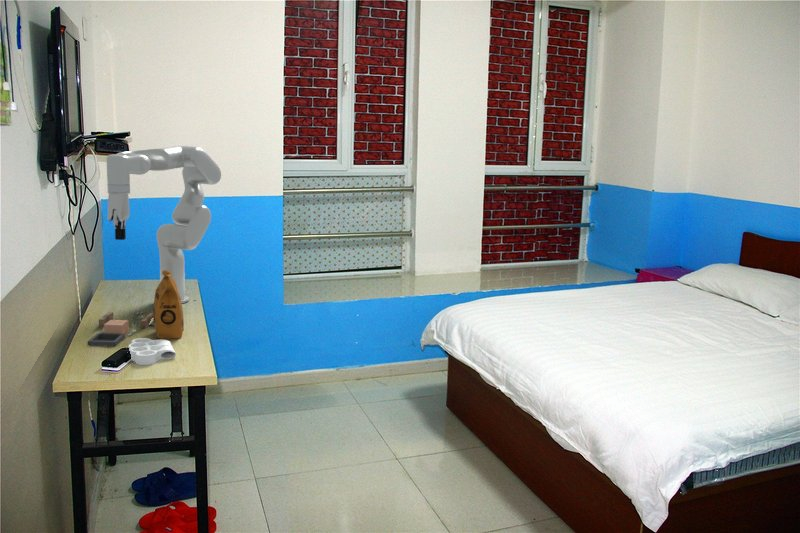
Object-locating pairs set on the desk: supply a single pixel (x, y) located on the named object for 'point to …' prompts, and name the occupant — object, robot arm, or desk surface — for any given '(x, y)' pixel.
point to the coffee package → (168, 309)
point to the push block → (116, 327)
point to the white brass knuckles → (150, 350)
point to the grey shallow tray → (106, 339)
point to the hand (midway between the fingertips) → (120, 239)
